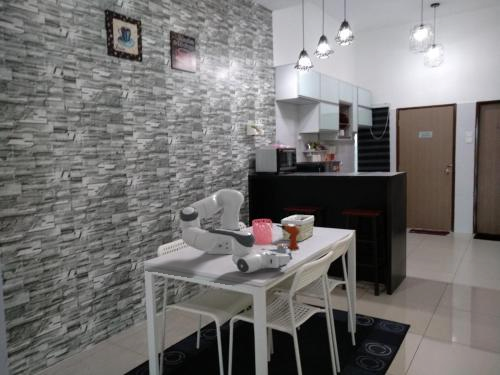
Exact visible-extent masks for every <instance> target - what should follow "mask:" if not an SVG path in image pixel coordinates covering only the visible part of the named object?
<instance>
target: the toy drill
mask: <svg viewBox="0 0 500 375" xmlns="http://www.w3.org/2000/svg"><path fill="white" fill-rule="evenodd" d="M276 227H278V228H281V230H282V229H284V230H285V231H286V232H288V233H289V234H291V235H290V237H289V239H290V240H289V242H290V244H289V245H287V249H289V250H293V251H296V250H299V249H300V247H299V245H298V243H297V241H296V237H297V235H298V234H299V229H298V228H297V227H295V226H284V225H283V226H282V225H279V224H276Z"/></svg>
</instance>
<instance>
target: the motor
mask: <svg viewBox="0 0 500 375" xmlns="http://www.w3.org/2000/svg"><path fill="white" fill-rule="evenodd" d="M286 248H287V246H286V245H285V244H283V243H280V244H278V246H277V247H276V249H277V252H278V253H282V254H284V253H286ZM287 264H288V263H287ZM287 264H284V265H281V266H280V267H286V266H287Z"/></svg>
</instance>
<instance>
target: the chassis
mask: <svg viewBox="0 0 500 375" xmlns="http://www.w3.org/2000/svg"><path fill="white" fill-rule="evenodd" d="M260 250H267V249H266V248H261V249H260ZM268 250H269V251H277V248H271V249H269V248H268ZM286 253H288V255H290V260H292V259H293V255H292V252H291V249H288V247H286Z"/></svg>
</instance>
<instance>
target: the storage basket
mask: <svg viewBox="0 0 500 375" xmlns="http://www.w3.org/2000/svg"><path fill="white" fill-rule="evenodd" d="M314 222H315V216H314V215H307V214H305V215H304V214H294V215H290V216H288V217H287V216H286V217H285V218H283V219H281V220H280V223H281V226H283V225H284V226H295V227H297V228H298V229H299V234H298V235H297V237H296V242H303V241H304V240H307V239H308V238H310V237H311V236H313V235H314V224H315V223H314ZM281 231H282V239H283V241H290V239H289V237H290V235H291V234H289V233H288V232H286V231H285V230H284V229H282V228H281Z"/></svg>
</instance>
